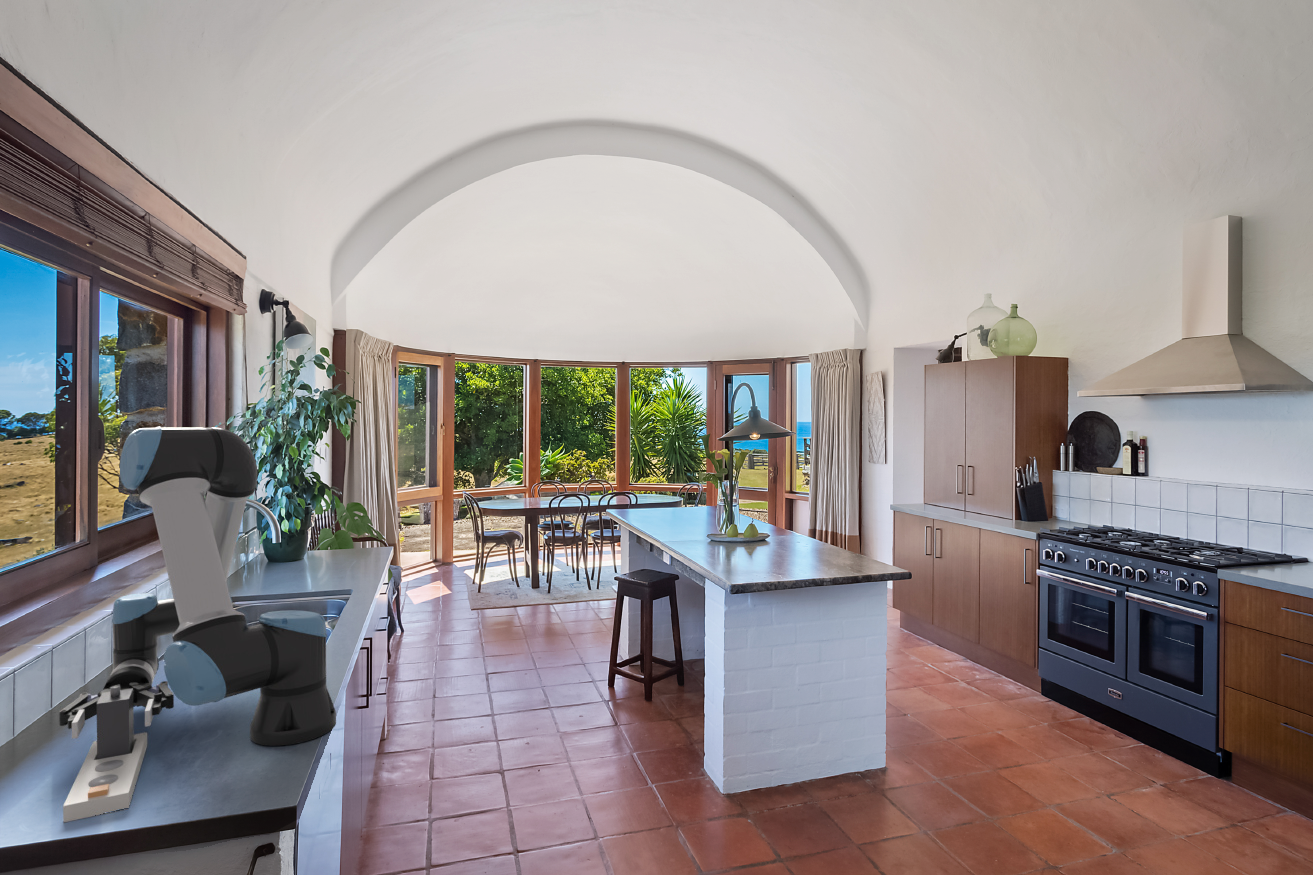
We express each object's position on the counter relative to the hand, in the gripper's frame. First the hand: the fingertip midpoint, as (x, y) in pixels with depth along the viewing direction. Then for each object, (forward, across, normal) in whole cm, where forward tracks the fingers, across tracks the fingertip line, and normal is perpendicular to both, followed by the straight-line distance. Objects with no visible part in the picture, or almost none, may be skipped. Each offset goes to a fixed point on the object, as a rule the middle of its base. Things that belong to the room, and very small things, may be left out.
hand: (111, 724), depth 124 cm
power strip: (+3, 0, -8) cm, 9 cm away
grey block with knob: (-4, 0, -8) cm, 9 cm away
